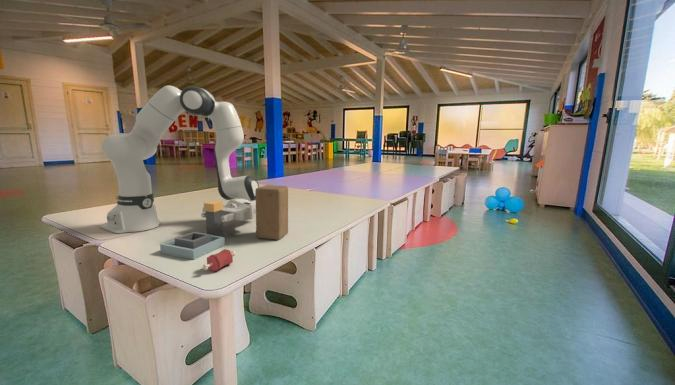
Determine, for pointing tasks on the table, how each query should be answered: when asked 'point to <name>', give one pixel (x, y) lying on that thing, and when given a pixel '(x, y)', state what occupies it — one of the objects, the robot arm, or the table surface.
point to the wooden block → (271, 211)
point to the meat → (219, 260)
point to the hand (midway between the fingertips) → (212, 216)
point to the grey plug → (214, 218)
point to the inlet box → (192, 245)
